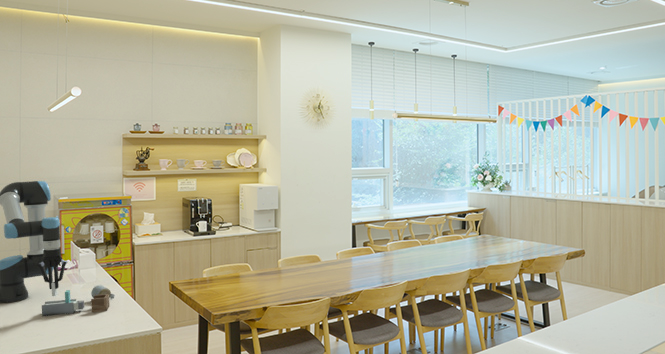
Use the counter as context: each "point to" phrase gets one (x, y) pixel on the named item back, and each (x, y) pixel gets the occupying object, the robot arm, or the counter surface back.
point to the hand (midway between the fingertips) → (54, 295)
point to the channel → (58, 308)
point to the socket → (100, 303)
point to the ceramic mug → (101, 291)
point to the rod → (77, 304)
